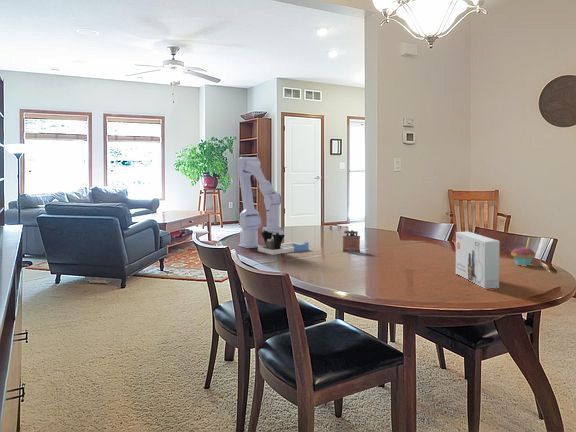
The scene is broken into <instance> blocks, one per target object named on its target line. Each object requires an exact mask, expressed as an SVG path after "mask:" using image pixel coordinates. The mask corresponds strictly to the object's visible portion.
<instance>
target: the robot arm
mask: <svg viewBox="0 0 576 432" xmlns="http://www.w3.org/2000/svg"><path fill="white" fill-rule="evenodd" d="M236 167H237V169H236V170H237V174H238V177H239V184H240V185H239V186H240V191H241V201H242V205H243V206H242V207H243V210H242V211H241V212H240V213H239V220H238V223H239V226H240V228H241V230H240V231H239V244H238V245H237V246H238V247H241V248H246V249H253V248H258V247H260V246H262V245H260V244H259V243H258V242H259V239H258V236H259V235H258V234H259V233H258V232H259V230H258V229H259V228H260V227H261V225H262V219H261V216H260V211H258V210H257V209H256V208H255V204H254V196H253V190H252V182H251V176H252V175H253V176H254V178H255V179H256V181H257V182H258V188H259V190H260V193H261V194H262V196H263V198H264V199H263V204H264V205H265V207H264V208H265V210H266V226H263V227H262V228H261V231H262V232H261V233H260V234H261V236H262V238H263V241H264V244H265V245H264V246H266V241H267V239H273V238H274V243H275V250H276V249H280V246H281V244H282V242H283V240H284V238H285V233H284V232H285V231H284V229H280V208H279V207H280V205H281V203H282V196H281V193H279V192H277V191H275V189H274V187H273V185H272V183H271V181H270V180H267V179H266V177H265V175H264V173H263V170H262V168H261V161H260V159H259V157H257V156H253V157H251V156H250V157H249V156H240V157H238V159H237V161H236Z"/></svg>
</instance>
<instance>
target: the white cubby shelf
mask: <svg viewBox="0 0 576 432" xmlns="http://www.w3.org/2000/svg"><path fill="white" fill-rule="evenodd" d="M309 246H310V245H309V242H307V241H305V242H304V243H303V244H302V243H298V242H294V241H293V242H285V243H281V246H280V249H276V250H271V249H267V248H266V245H261V246H260V247H257V252H260V253H263V254H267V255H272V256H274V255H278V254H279V255H281V253H282V254H287V253H297V252H304V251H309Z"/></svg>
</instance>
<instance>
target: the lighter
mask: <svg viewBox="0 0 576 432" xmlns="http://www.w3.org/2000/svg"><path fill="white" fill-rule="evenodd" d="M343 233H344V234H345V235H342V250H341V251H342V253H354V254H355V253H360V252H361V249H360V247H361V246H360V245H361V244H360V243H361V235H358V231H355V230H352V229H351V230H344V231H343Z"/></svg>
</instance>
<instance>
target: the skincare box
mask: <svg viewBox="0 0 576 432" xmlns="http://www.w3.org/2000/svg"><path fill="white" fill-rule="evenodd" d="M500 242H501V241H500V240H498V239H494V238H491V237H488V236H484V235H481V234H478V233H475V232H471V231H456V232H455V275H456V274H458V275H460V276H462V277H464V278H466V279H468V280H469V281H471V282H473V283H475V284H477V285H479V286H481V287H483V288H499V289H500V246H501V245H500V244H501V243H500ZM458 275H457V276H458ZM460 276H459V277H460ZM462 277H461V278H462ZM464 278H463V279H464ZM466 279H465V280H466ZM468 280H467V281H468ZM469 281H468V282H469ZM471 282H470V283H471ZM473 283H472V284H473ZM475 284H474V285H475ZM477 285H476V286H477ZM479 286H478V287H479ZM481 287H480V288H481ZM483 288H482V289H483Z"/></svg>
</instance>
